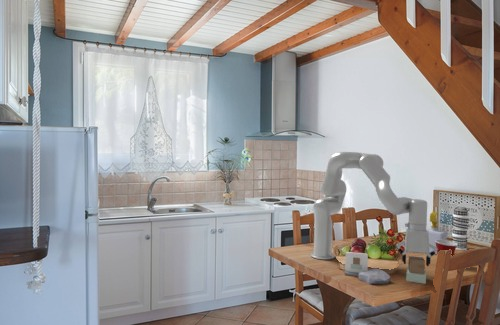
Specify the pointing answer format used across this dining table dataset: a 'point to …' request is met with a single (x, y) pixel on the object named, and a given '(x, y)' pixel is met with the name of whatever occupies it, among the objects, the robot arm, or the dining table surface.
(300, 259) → the dining table surface
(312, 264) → the dining table surface
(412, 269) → the walnut block
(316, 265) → the dining table surface
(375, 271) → the stone block
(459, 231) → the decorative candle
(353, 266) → the picture card
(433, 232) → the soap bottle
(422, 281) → the sage block
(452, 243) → the plastic cup
